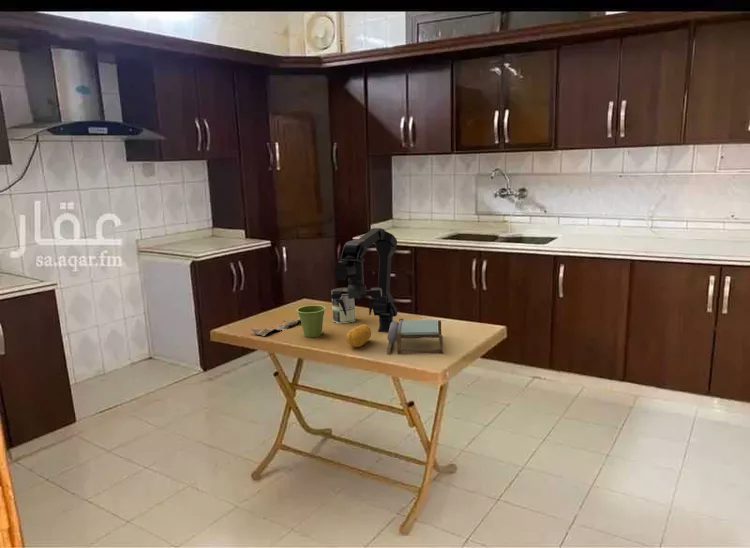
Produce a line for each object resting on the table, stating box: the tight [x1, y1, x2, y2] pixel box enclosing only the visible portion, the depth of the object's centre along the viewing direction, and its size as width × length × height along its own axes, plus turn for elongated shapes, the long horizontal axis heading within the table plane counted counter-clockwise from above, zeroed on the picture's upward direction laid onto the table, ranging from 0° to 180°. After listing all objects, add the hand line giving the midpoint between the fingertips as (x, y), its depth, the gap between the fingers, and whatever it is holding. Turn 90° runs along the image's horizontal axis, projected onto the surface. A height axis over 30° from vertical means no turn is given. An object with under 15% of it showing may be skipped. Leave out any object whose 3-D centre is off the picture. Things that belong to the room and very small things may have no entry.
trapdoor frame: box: [386, 318, 444, 355], centre depth 206 cm, size 20×20×8 cm
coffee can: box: [330, 287, 356, 324], centre depth 244 cm, size 10×10×14 cm
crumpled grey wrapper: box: [250, 318, 301, 337], centre depth 242 cm, size 34×10×3 cm, turn 147°
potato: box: [346, 323, 372, 348], centre depth 210 cm, size 7×14×7 cm, turn 154°
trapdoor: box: [386, 319, 438, 344], centre depth 206 cm, size 16×18×4 cm
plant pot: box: [296, 304, 326, 338], centre depth 225 cm, size 12×12×11 cm
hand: (358, 315), depth 208 cm, fingers open, 9 cm apart
